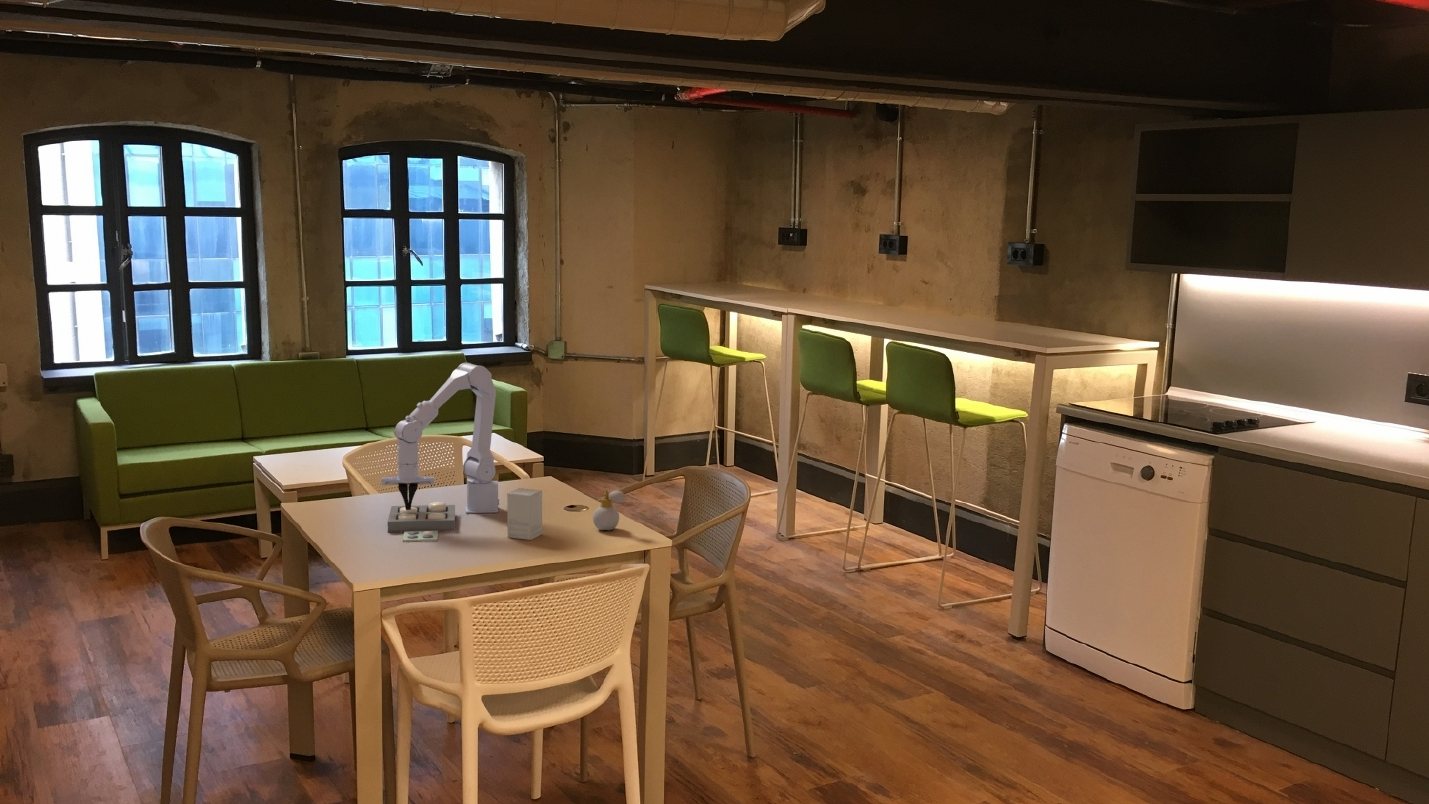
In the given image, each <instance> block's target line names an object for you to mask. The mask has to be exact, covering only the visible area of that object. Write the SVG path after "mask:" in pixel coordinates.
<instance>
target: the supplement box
mask: <svg viewBox="0 0 1429 804" xmlns="http://www.w3.org/2000/svg"><path fill="white" fill-rule="evenodd" d="M506 499H507V500H506V502H507V507H506V509H507V512H506V513H507V516H506V517H507V524H506V525H507V538H508V539H509V538H510V539H519V540H526V541H527V540H528V541H532V540H534V539H535V538H537V537H539V536H541V535H543V489H542V490H541V489H535V488H534V489H532V488H525V487H524V488H523V487H522V488H521V487H519V488H516V489H514V490H512V491H510V492H507V496H506Z"/></svg>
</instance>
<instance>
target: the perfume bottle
mask: <svg viewBox="0 0 1429 804" xmlns="http://www.w3.org/2000/svg"><path fill="white" fill-rule="evenodd" d="M625 495H626V494H624V492H623V491H621V490H613V491H611V492H608V489H605V491H604V494H603V496H604V497H602V498H601V500H600V501H601V503H600V505H599V506H598V507H597V508H596V509H595V510H594V512H593V515H592V522H593V524H594V526H595V527H596V528H597V529H598V530H600V531H603V530H608V531H612V530H614V529H615V528H617V526H618V524H619V521H620V513H619V511H618V510H617V508H616V507H614V506H613V503H615V504H621V503H623V502H624V501H625V498H626V496H625ZM612 502H613V503H612Z"/></svg>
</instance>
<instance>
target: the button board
mask: <svg viewBox="0 0 1429 804" xmlns="http://www.w3.org/2000/svg"><path fill="white" fill-rule="evenodd" d="M403 507H405V505H391V507H390V510H389V511H390V512H389V515H388V519H387V533H404V531H433V530H438V532H454V531H456V530H455V528H456V527H455V526H456V505H455V504H446V512H429V504H428V505H427V504H426V505H425V504H424V505H423V504H422V505H421V504H420V505H411V507H415V508H417V512H407V513H400V508H403ZM432 513H442V514H445V519H428V515H429V514H432ZM401 514H415V515H416V519H410V520H398V516H399V515H401Z"/></svg>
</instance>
